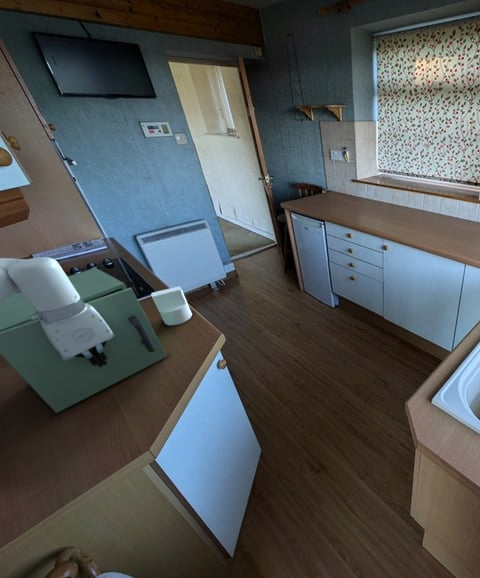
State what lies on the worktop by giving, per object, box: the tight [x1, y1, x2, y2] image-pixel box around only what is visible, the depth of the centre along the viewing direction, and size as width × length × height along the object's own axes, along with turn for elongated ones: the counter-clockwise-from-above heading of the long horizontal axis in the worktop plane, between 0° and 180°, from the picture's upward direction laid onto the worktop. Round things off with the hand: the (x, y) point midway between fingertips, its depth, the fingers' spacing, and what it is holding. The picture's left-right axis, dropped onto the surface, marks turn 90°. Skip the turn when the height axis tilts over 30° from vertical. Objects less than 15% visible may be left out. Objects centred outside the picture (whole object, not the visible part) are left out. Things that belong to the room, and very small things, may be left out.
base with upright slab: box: [150, 285, 193, 326], centre depth 108 cm, size 9×9×12 cm
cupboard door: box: [0, 287, 168, 414], centre depth 77 cm, size 7×26×26 cm, turn 143°
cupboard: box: [0, 267, 128, 332], centre depth 83 cm, size 18×26×26 cm
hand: (101, 363), depth 79 cm, fingers closed
